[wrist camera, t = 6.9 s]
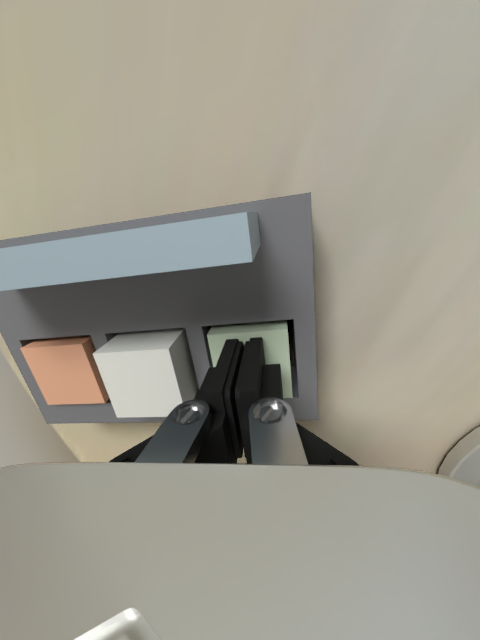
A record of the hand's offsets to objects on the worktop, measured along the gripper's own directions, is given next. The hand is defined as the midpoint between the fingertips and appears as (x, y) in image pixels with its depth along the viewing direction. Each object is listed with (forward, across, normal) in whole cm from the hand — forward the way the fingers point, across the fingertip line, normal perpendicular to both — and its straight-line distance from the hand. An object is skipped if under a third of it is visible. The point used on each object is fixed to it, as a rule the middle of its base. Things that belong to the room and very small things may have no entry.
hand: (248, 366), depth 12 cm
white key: (+2, +5, 0) cm, 5 cm away
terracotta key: (+3, +10, 0) cm, 10 cm away
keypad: (+3, +5, -2) cm, 6 cm away
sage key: (+3, 0, 0) cm, 3 cm away
